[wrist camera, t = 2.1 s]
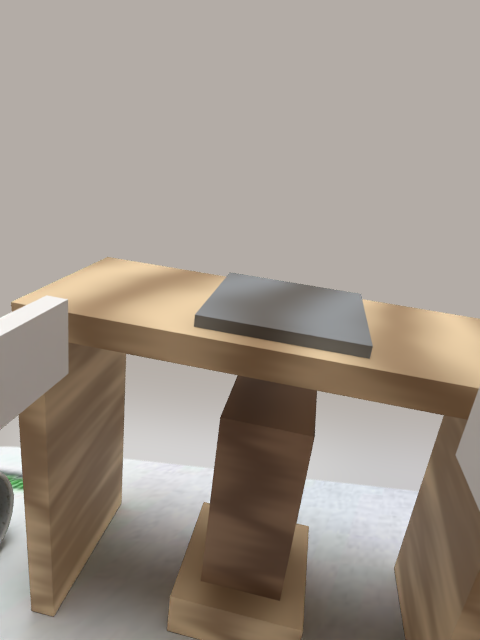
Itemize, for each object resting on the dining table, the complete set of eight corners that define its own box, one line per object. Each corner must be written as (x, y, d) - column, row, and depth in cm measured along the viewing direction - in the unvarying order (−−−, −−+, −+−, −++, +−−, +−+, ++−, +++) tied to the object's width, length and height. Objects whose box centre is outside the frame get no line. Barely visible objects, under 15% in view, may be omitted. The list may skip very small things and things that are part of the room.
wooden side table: (414, 572, 35) (505, 313, 27) (445, 725, 25) (596, 395, 18) (104, 499, 38) (107, 248, 30) (31, 610, 29) (10, 289, 21)
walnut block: (286, 537, 33) (317, 390, 28) (279, 601, 28) (314, 436, 24) (218, 521, 33) (237, 375, 29) (200, 580, 29) (220, 417, 24)
